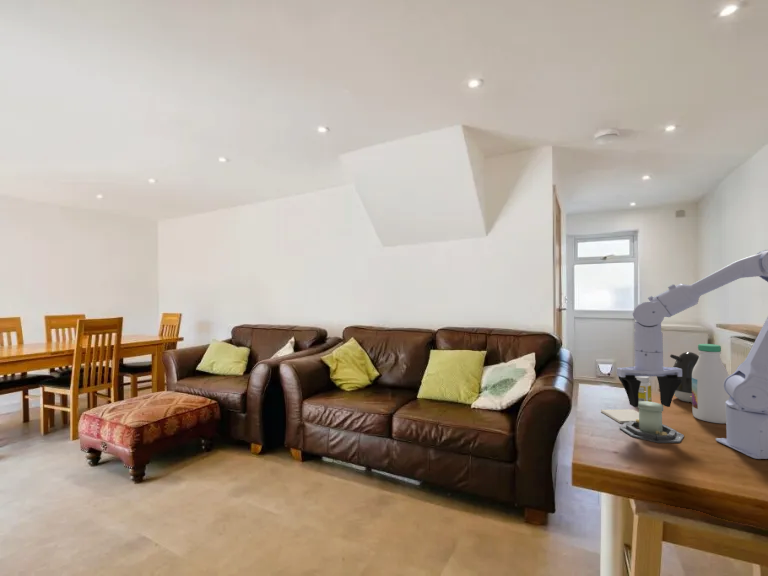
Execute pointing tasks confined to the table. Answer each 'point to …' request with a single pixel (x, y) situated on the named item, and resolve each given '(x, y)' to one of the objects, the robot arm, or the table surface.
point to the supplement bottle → (644, 389)
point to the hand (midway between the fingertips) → (649, 405)
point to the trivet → (622, 415)
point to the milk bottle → (709, 385)
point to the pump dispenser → (685, 374)
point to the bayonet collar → (658, 438)
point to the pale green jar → (650, 417)
